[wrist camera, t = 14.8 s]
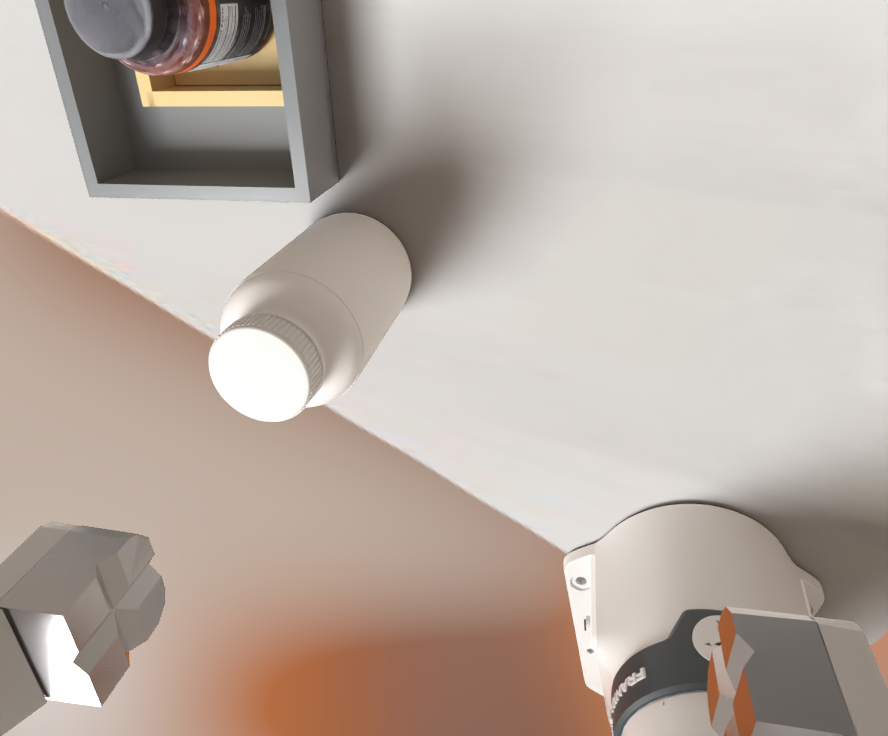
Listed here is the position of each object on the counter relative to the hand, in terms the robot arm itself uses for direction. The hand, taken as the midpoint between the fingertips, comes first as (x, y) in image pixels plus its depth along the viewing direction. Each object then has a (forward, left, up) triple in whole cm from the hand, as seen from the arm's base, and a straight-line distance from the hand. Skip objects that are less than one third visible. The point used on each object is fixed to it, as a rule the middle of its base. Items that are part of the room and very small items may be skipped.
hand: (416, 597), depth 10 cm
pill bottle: (-8, +12, -34) cm, 37 cm away
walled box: (+5, +20, -34) cm, 40 cm away
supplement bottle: (+7, +18, -33) cm, 38 cm away
